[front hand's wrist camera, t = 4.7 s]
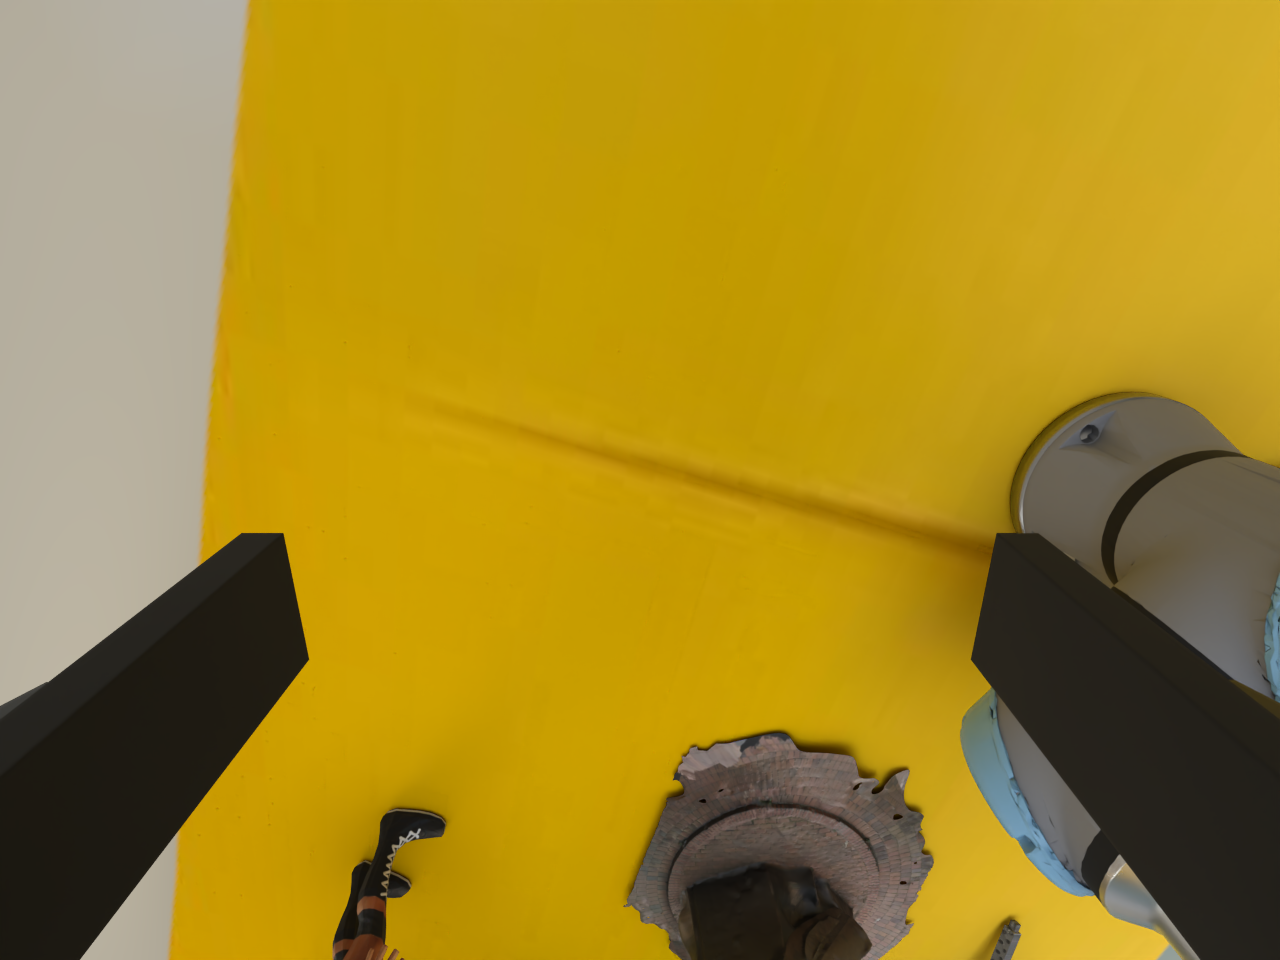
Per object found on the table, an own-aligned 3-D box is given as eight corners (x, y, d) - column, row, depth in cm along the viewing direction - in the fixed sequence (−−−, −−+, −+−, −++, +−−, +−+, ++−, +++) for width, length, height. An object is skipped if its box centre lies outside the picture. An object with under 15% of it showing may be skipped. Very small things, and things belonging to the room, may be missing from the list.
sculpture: (547, 912, 70) (522, 1097, 55) (747, 678, 60) (782, 827, 45) (798, 1026, 77) (836, 1219, 62) (1018, 831, 66) (1127, 1006, 51)
